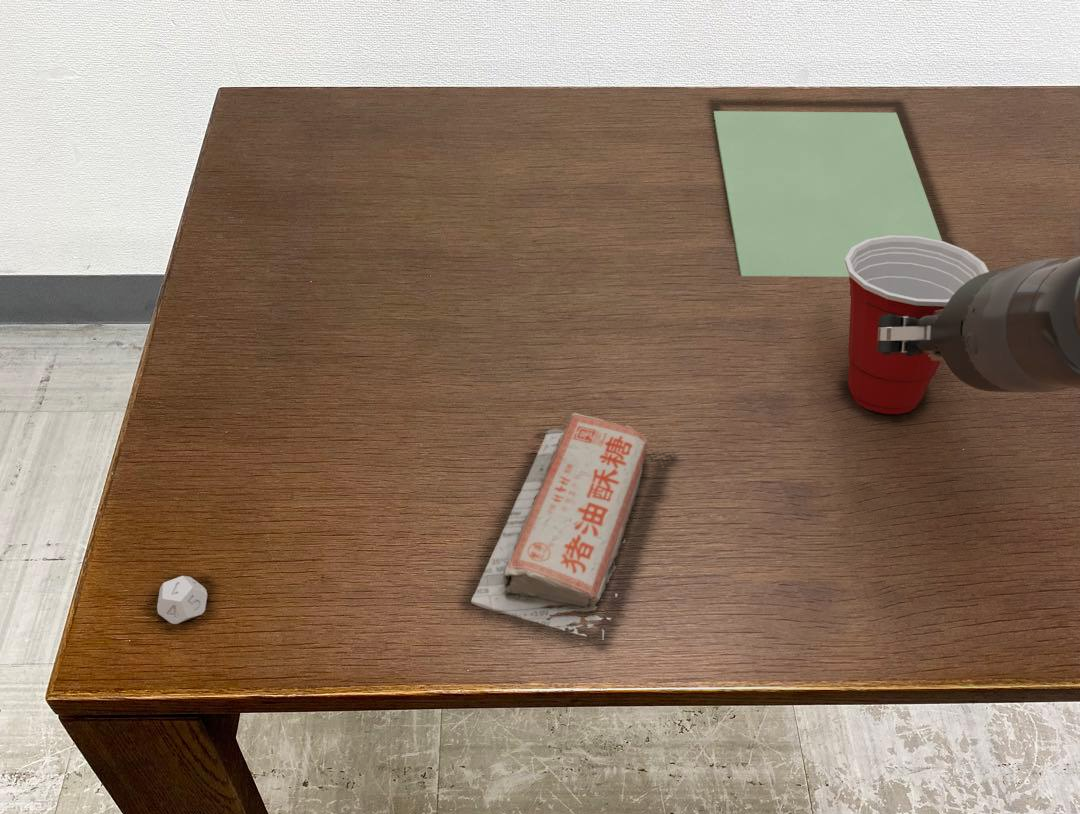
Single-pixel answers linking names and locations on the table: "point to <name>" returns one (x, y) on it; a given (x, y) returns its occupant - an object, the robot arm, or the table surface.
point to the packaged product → (566, 524)
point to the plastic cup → (898, 312)
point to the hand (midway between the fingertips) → (921, 340)
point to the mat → (817, 188)
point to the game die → (181, 599)
